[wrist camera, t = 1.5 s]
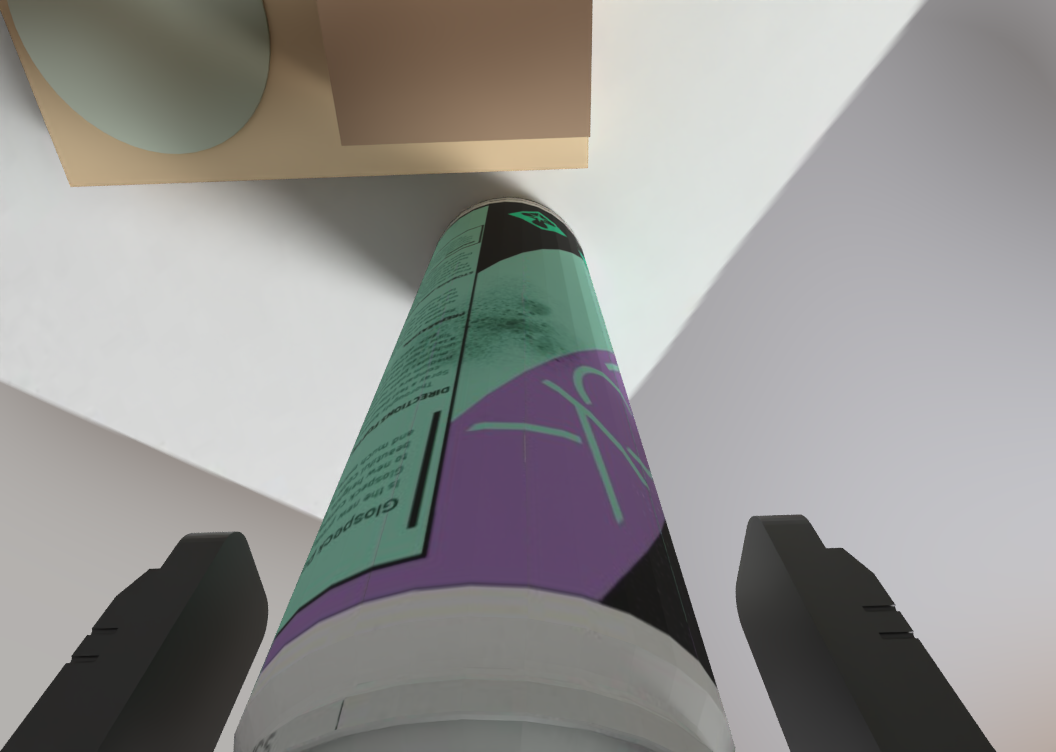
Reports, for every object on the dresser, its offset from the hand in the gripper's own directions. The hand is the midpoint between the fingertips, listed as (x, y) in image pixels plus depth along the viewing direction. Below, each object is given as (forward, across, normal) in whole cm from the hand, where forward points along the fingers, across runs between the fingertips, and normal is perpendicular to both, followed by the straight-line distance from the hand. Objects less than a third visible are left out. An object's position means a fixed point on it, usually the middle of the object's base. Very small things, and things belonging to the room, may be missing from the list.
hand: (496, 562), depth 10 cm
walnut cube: (+11, 0, -8) cm, 14 cm away
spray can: (+14, 0, 0) cm, 14 cm away
